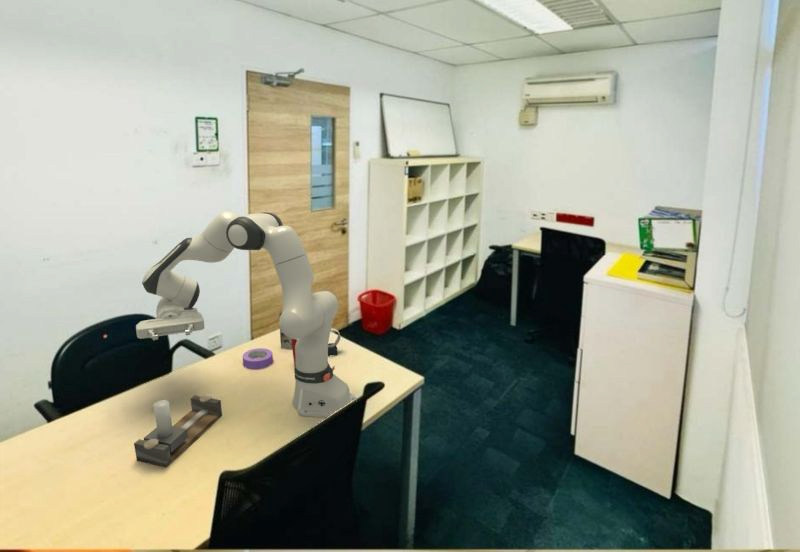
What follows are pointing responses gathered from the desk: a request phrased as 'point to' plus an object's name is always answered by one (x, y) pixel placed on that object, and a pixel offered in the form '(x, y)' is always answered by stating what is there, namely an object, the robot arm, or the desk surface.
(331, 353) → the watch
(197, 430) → the rail
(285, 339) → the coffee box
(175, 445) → the carriage
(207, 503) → the desk surface
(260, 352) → the masking tape
